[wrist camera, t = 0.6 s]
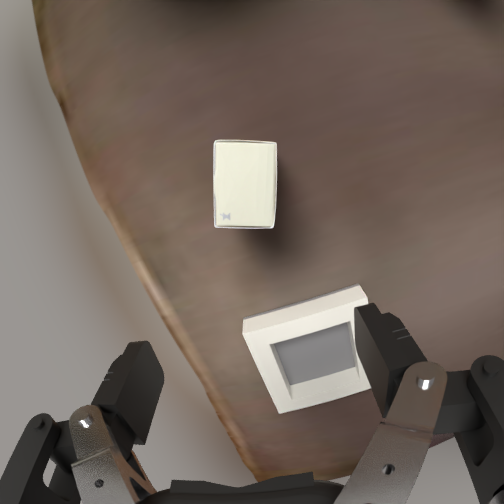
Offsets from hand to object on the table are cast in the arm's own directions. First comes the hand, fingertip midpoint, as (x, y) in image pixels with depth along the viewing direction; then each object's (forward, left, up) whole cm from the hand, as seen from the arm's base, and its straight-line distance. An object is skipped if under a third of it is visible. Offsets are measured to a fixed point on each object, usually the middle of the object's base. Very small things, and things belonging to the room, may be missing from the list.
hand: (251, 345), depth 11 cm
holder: (-2, +21, -24) cm, 32 cm away
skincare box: (-1, -4, -24) cm, 24 cm away
